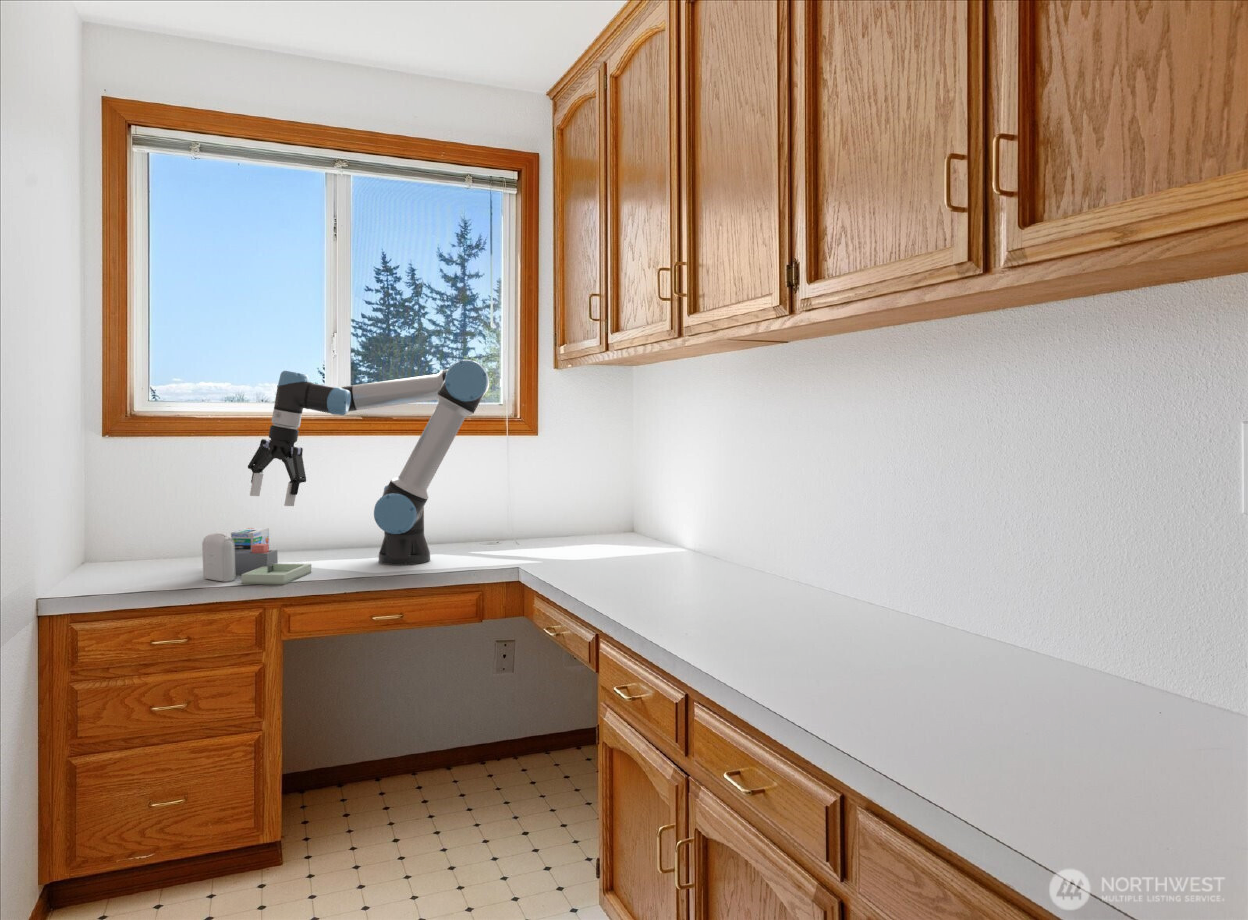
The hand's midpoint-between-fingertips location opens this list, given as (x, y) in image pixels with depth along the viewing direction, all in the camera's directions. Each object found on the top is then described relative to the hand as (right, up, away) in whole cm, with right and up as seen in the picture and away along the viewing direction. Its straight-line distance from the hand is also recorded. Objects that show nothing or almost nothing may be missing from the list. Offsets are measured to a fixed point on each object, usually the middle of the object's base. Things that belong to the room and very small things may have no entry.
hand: (271, 500), depth 235 cm
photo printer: (-9, -21, -11) cm, 25 cm away
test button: (-2, -17, -2) cm, 17 cm away
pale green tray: (+5, -20, -9) cm, 23 cm away
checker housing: (-6, -20, -2) cm, 21 cm away
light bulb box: (-9, -20, +8) cm, 23 cm away
